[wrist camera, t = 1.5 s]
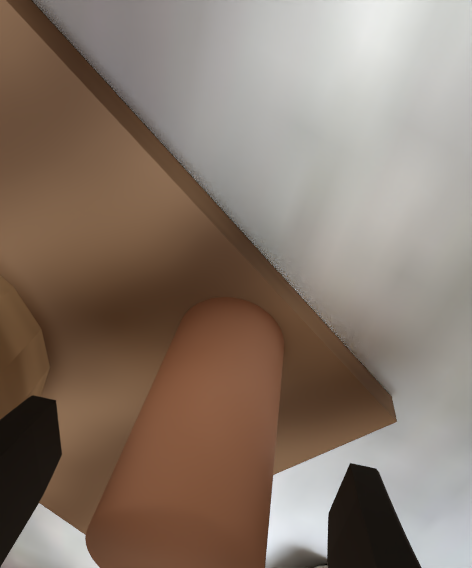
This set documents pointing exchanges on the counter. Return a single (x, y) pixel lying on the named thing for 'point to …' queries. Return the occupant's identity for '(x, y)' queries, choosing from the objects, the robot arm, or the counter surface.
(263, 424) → the peg
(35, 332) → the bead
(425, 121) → the counter surface
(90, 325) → the board
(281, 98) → the counter surface
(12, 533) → the robot arm
